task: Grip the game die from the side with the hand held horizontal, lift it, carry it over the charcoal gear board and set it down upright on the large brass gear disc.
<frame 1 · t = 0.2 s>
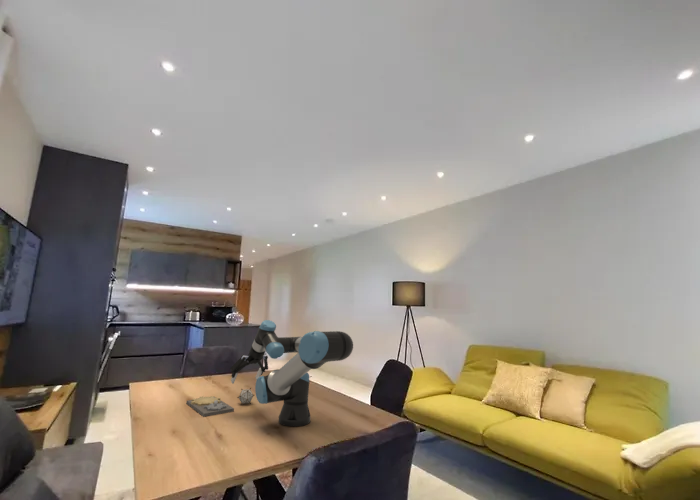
hand: (244, 380, 173), 15 cm above the table, tool tilted 35°, fingers open, 13 cm apart
game die: (245, 404, 182), on the table
gear board: (209, 407, 173), on the table
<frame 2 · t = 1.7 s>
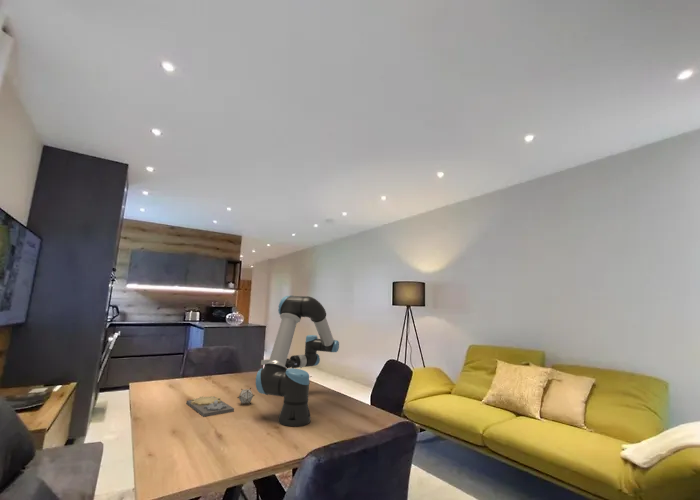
hand: (267, 364, 193), 20 cm above the table, tool horizontal, fingers open, 13 cm apart
nothing on the table moved.
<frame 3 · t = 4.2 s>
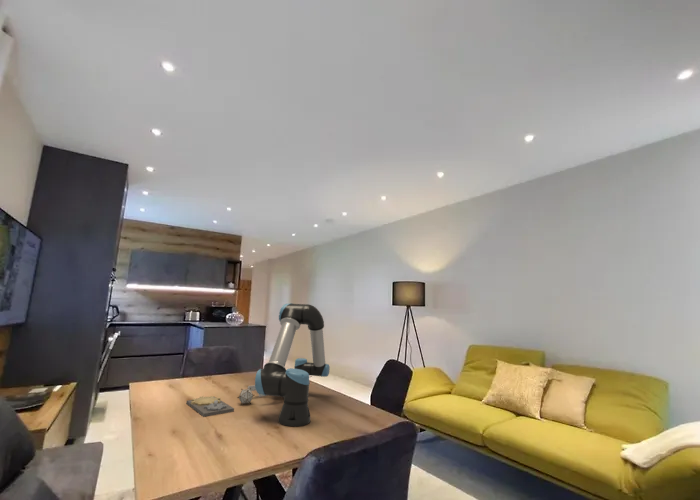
hand: (253, 391, 186), 6 cm above the table, tool horizontal, fingers open, 13 cm apart
nothing on the table moved.
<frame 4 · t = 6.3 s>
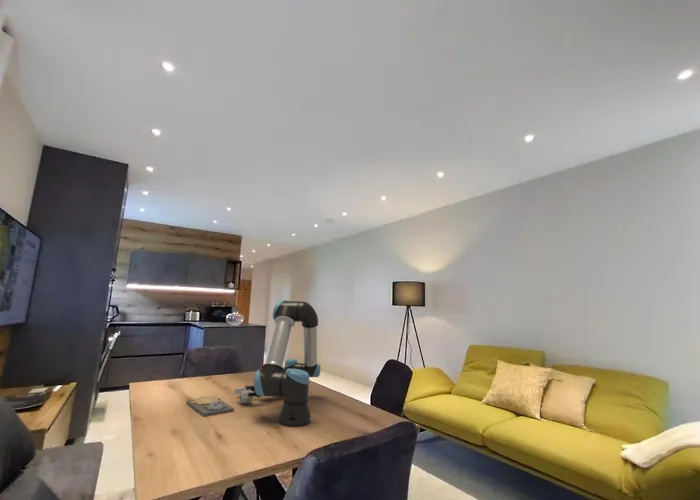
hand: (238, 393, 180), 6 cm above the table, tool horizontal, fingers open, 8 cm apart
game die: (245, 404, 181), on the table, touching gripper
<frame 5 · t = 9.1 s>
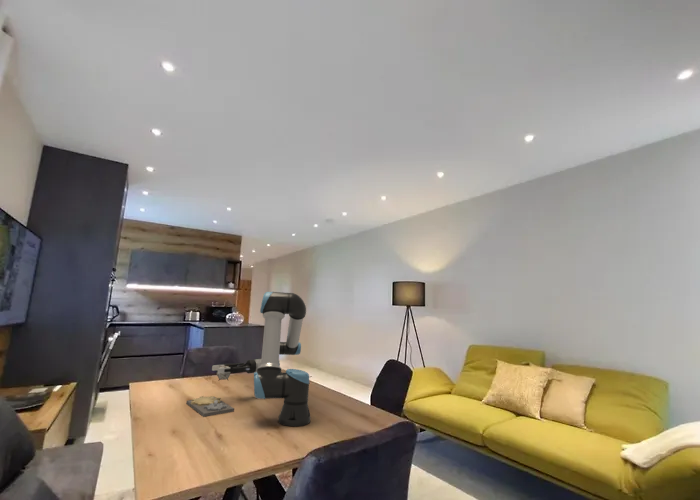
hand: (215, 369, 181), 18 cm above the table, tool horizontal, fingers closed on game die, 8 cm apart
game die: (223, 380, 182), point 12 cm above the table, touching gripper
when the fingers open (10 cm above the table, at t = 11.8 s): game die drops 2 cm, resting on gear board.
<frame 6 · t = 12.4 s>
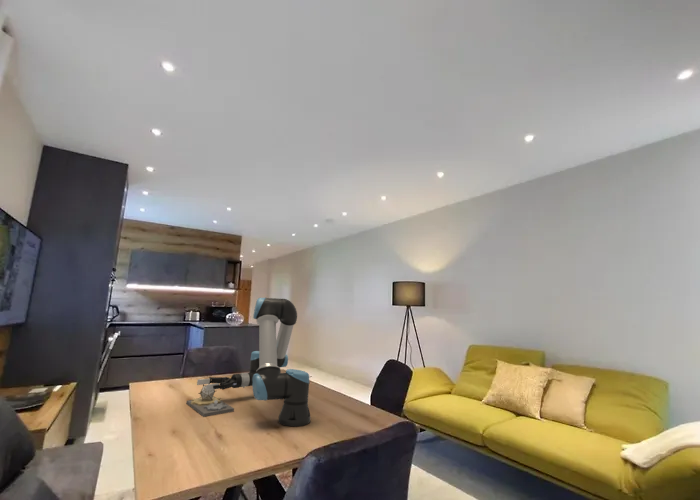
hand: (201, 384, 176), 10 cm above the table, tool horizontal, fingers open, 13 cm apart
game die: (206, 400, 177), point 2 cm above the table, touching gear board
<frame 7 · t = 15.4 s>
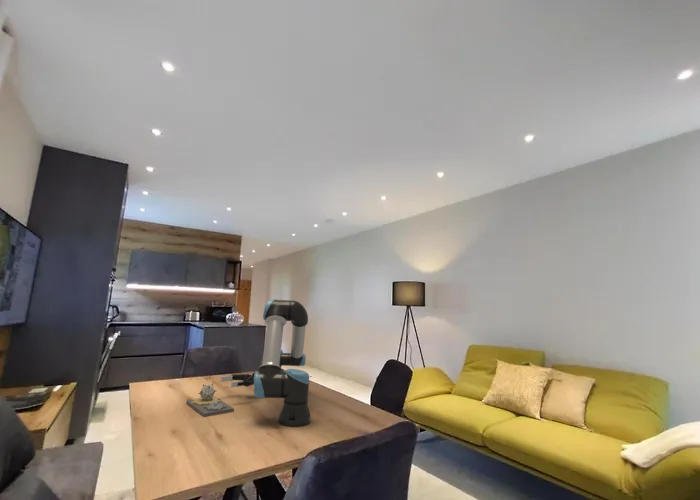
hand: (226, 381, 185), 11 cm above the table, tool horizontal, fingers open, 13 cm apart
nothing on the table moved.
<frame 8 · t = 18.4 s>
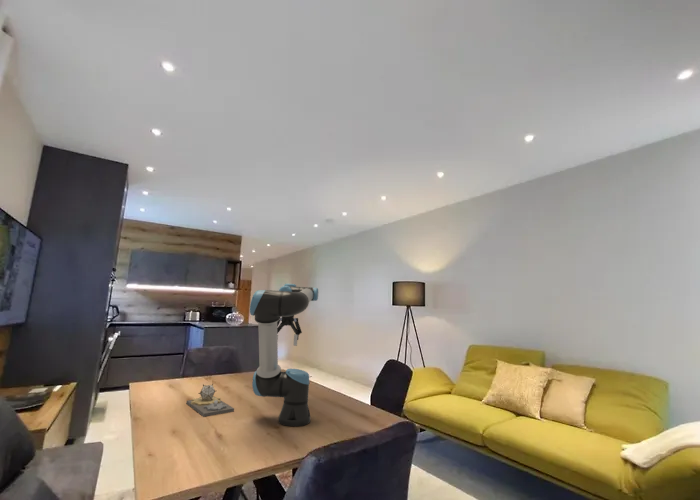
hand: (285, 346, 195), 31 cm above the table, tool pointing down, fingers open, 13 cm apart
nothing on the table moved.
at the end: game die inside the target area on the gear board (0.6 cm from its centre), point 2.3 cm above the gear board's base; game die tilted 2°; the gripper is holding nothing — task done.
